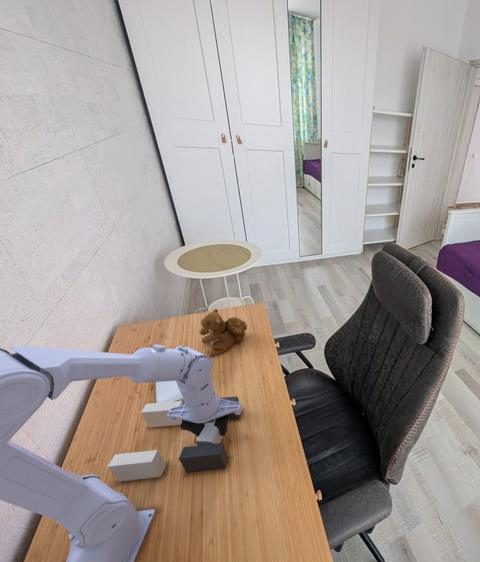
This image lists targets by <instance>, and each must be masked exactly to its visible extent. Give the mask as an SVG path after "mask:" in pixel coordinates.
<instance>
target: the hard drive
mask: <svg viewBox="0 0 480 562" xmlns="http://www.w3.org/2000/svg"><path fill="white" fill-rule="evenodd" d="M155 400H156V402H155V403H163V402H175V401H182V402H183V403H185V402H184V400H183V397H182V395H181V392H180V390H179V388H178V385H177V382H176V381H164V382H155Z"/></svg>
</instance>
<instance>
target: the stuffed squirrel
mask: <svg viewBox="0 0 480 562" xmlns="http://www.w3.org/2000/svg"><path fill="white" fill-rule="evenodd" d="M200 324H201V327H202V328H201V329H200V330H198V331H199V334H200V335H201V336H203V337H202V338H201V343H202V344H205V345H206V344H209V343H210V345H211V346H212V348H211V349H210V351H209V356H211V357H213V356H216V355H219V354H222V353H225V352H226V351H228V349H230V348H231V346H233V344H235V343H238V342H240V341H242V340H243V339H244V338H245V335H246V330H247V329H248V325H247V323H246V322H245V321H244V320H242V319H241V318H238V317H237V316H233V317H229V318H228V319H226V321H225V320H223V318H222V316H221V314H220V313H219V310H218V309H217V308H214V309H213V311H210V312H209V313H207V315H206V316H204V317H203V318H202V319H201V320H200Z"/></svg>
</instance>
